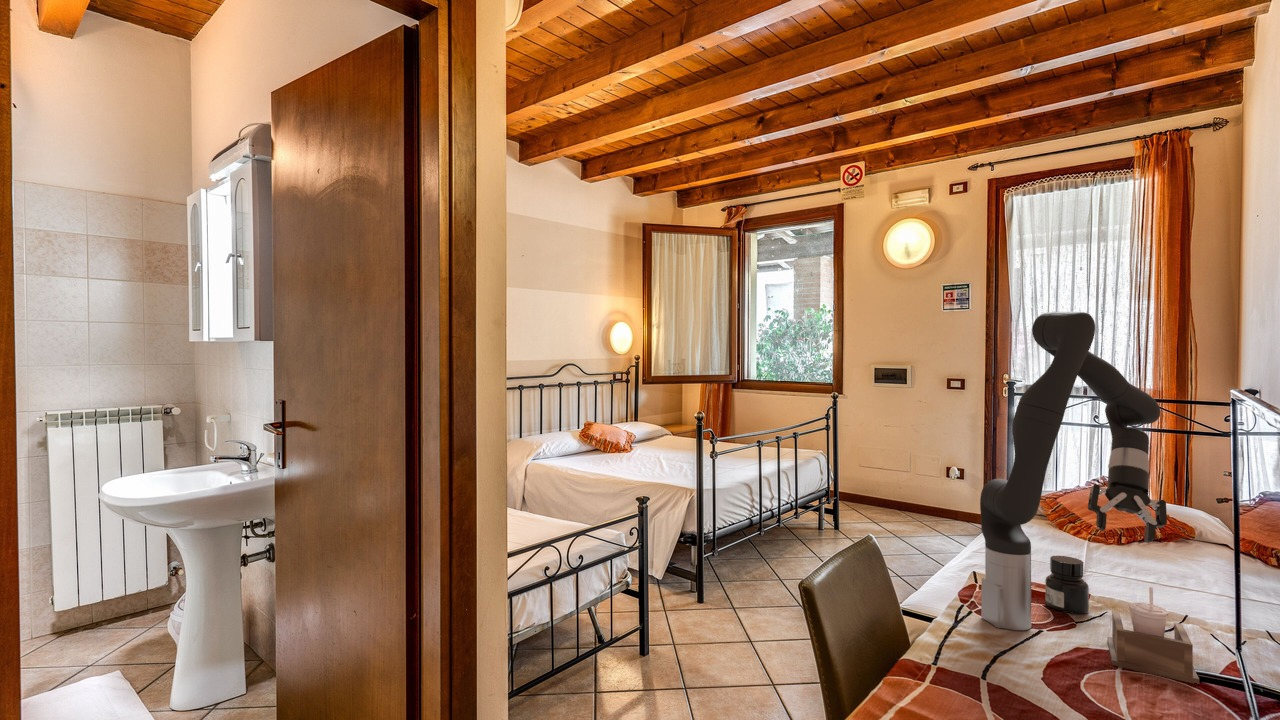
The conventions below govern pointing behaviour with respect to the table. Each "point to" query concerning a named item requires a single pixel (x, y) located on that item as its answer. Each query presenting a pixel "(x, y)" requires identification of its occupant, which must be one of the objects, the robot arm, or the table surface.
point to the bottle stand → (1152, 652)
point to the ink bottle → (1067, 586)
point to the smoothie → (1148, 617)
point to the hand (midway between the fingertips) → (1125, 535)
